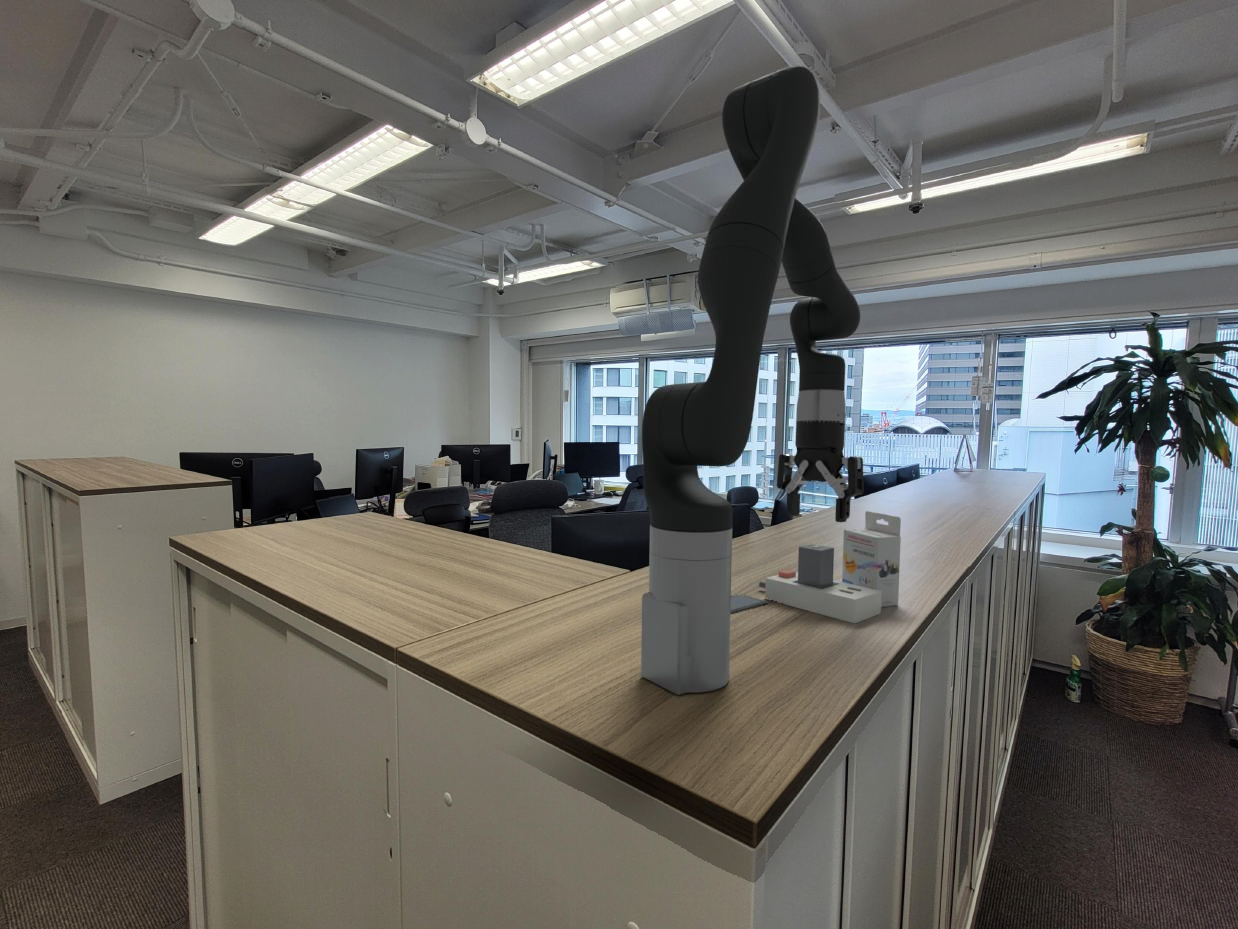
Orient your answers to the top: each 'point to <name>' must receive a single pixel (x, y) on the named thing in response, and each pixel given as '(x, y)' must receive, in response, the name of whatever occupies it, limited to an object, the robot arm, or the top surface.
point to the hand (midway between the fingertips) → (816, 518)
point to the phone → (744, 603)
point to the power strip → (824, 597)
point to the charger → (815, 566)
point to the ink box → (874, 556)
